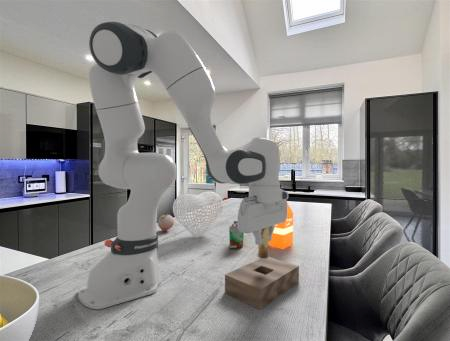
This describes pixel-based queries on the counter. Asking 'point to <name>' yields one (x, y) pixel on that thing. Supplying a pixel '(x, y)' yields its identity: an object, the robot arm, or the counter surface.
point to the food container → (235, 237)
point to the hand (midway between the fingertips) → (263, 242)
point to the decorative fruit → (165, 222)
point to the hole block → (261, 281)
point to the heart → (196, 197)
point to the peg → (264, 244)
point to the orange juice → (283, 232)
